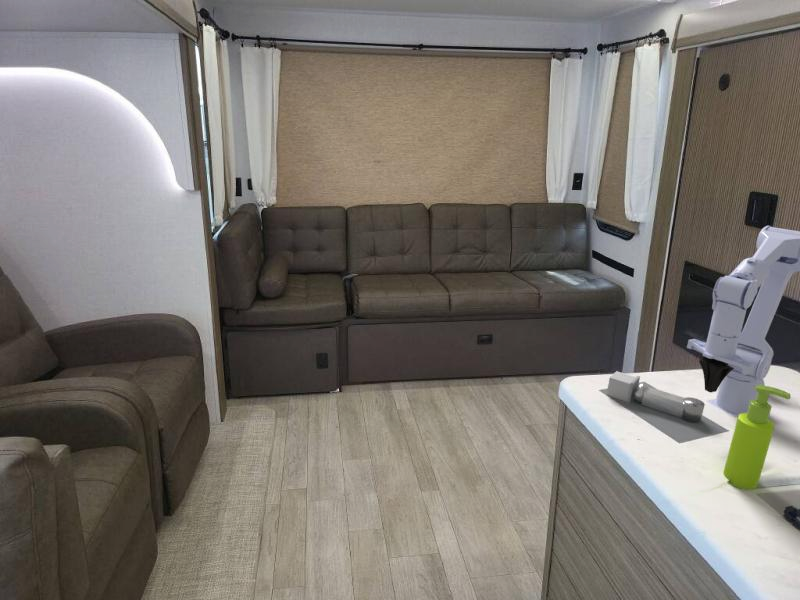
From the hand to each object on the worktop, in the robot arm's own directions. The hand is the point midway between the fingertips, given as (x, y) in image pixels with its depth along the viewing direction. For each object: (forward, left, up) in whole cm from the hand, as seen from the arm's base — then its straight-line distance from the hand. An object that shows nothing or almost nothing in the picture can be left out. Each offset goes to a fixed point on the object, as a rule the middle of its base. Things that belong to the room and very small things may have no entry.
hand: (710, 390), depth 124 cm
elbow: (+1, -8, -9) cm, 12 cm away
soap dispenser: (+8, +16, -10) cm, 21 cm away
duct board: (+2, -10, -10) cm, 14 cm away
